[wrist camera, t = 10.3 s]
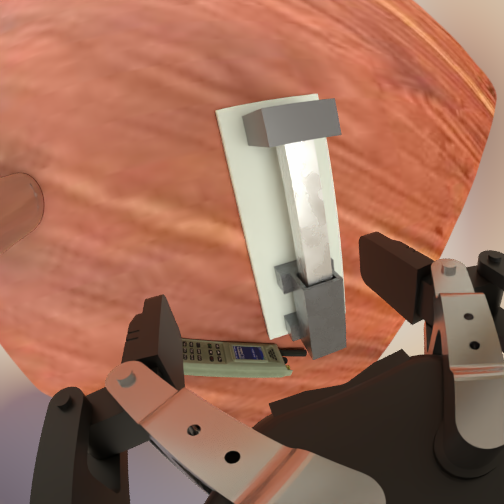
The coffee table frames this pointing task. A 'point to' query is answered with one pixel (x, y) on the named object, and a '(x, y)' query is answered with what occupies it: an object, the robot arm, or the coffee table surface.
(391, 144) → the coffee table surface
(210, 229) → the coffee table surface
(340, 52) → the coffee table surface
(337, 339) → the sleeve
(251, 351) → the handheld radio
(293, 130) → the socket
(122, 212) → the coffee table surface
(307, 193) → the silver metal bar
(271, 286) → the base board
